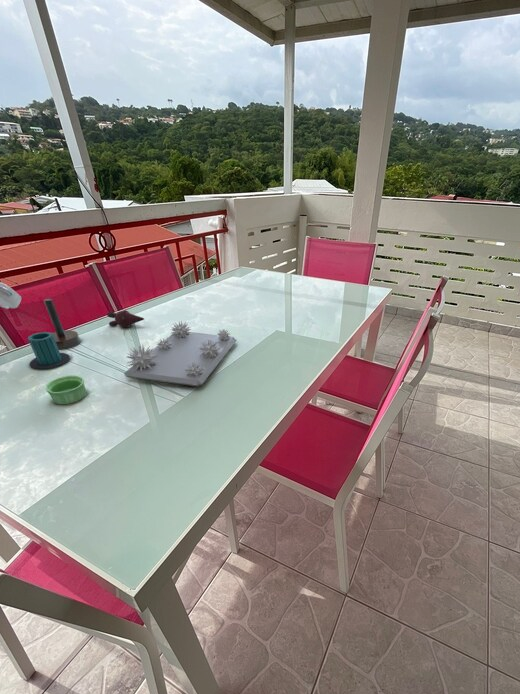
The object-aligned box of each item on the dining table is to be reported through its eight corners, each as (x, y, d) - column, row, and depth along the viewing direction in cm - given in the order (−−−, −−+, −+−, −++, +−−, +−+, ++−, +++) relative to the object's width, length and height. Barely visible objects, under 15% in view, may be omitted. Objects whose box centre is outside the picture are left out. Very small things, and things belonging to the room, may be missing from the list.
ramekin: (66, 386, 97) (60, 373, 94) (95, 389, 96) (90, 377, 94) (43, 404, 90) (36, 390, 87) (74, 407, 89) (69, 394, 87)
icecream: (146, 309, 135) (111, 309, 136) (137, 310, 128) (100, 311, 129) (149, 326, 137) (115, 326, 138) (140, 328, 130) (104, 329, 131)
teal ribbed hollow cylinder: (34, 365, 105) (23, 340, 100) (45, 355, 110) (34, 332, 105) (56, 364, 106) (46, 340, 101) (65, 355, 111) (56, 332, 106)
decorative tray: (201, 391, 99) (197, 362, 93) (121, 380, 101) (112, 351, 96) (237, 343, 127) (236, 318, 122) (174, 335, 130) (170, 311, 124)
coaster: (22, 370, 103) (22, 368, 103) (41, 354, 112) (40, 352, 112) (60, 369, 105) (60, 368, 104) (76, 354, 114) (75, 352, 113)
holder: (42, 349, 115) (22, 304, 106) (56, 337, 123) (39, 294, 114) (73, 349, 116) (56, 305, 107) (85, 337, 124) (70, 295, 115)
